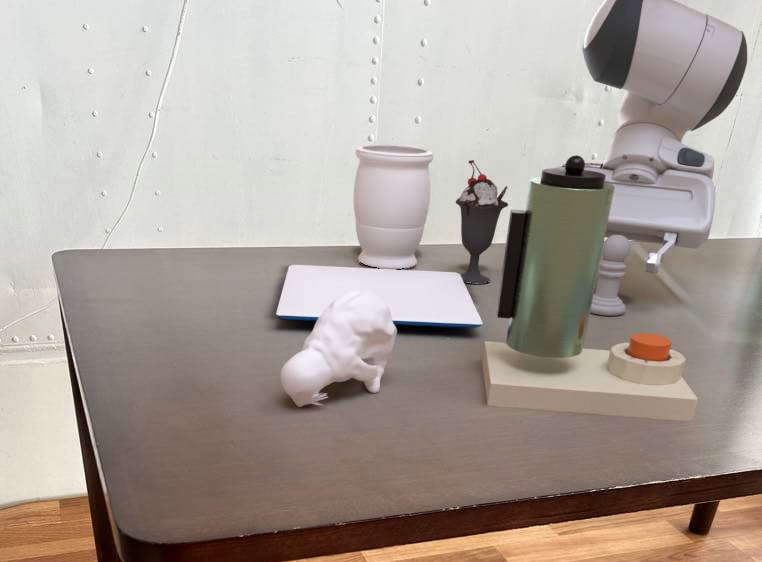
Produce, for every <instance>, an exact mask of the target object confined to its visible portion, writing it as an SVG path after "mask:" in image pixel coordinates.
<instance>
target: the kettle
mask: <svg viewBox="0 0 762 562" xmlns="http://www.w3.org/2000/svg"><path fill="white" fill-rule="evenodd" d="M585 163H586V162H585V160H584V158H583V157H582V156H580V155H577V154H576V155H572V156H570V157H569V158H567V160H566V162H565V163H564V164H565V168H555V167H550V168H544V169H542V170H541V175H540V176H538V177H532V178H530V179H529V183H528V190H527V198H526V204H525V210H524V209H510V211H509V212H510V213H509V219H508V227H507V233H506V240H505V248H504V256H503V263H502V270H501V277H500V285H499V292H498V299H497V307H496V318H498V319H509V320H508V326H507V334H506V340H505V343H507V345H508V346H509V347H510V348H512V349H513V350H515V351H518V352H520V353H523V354H527V355H531V356H536V357H543V358H569V357H574V356H577V355H579V354H580V353H581V352H582V351H583V349H584V344H585V340H586V335H587V329H588V324H589V320H590V315H591V313H590V310H591V305H592V300H593V295H594V294H595V291H596V286H597V281H598V276H599V275H598V270H599V265H600V261H601V259H602V249H603V244H604V241H605V240H606V239H605V238H606V237H605V234H606V229H607V224H608V219H609V214H610V209H611V204H612V199H613V194H614V189H615V187H614V186H613V185H611V184H609V183H605V177H606V175H605V174H602V173H599V172H594V171H588V170H584V168H585Z"/></svg>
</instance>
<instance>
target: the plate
mask: <svg viewBox="0 0 762 562" xmlns="http://www.w3.org/2000/svg"><path fill="white" fill-rule="evenodd" d="M285 275H286V276H285V278H284V279H285V280H284V284H283V286H282V291H281V294H280V298H279V301H278V305H277V309H276V313H275V315H276V316H277V317H278V318H279V319H284V320H296V321H297V320H298V321H309V322H310V321H311V322H317V320H318V318H319V317H320V316H321V315H322V313H323V311H324V310H325V309H326V308H327V307H328V306H329V305H330V304H331V303H332V302H333V301H334V300H335V299H336V298H337V297H339V296H340V295H342V294H344V293H346V292H348V291H351V290H368V291H370V292H372V293H373V294H375V295H376V296H377V297H379V298H380V299H382V300H384V301H385V302H386V304H387V305H388V307H389V309H390V312H391V315H392V321H393V324H394V325H395V326H411V327H412V326H413V327H415V326H416V327H437V328H438V327H439V328H479V327H482V325H483V324H484V323H483V320H482V318H481V316H480V314H479V312H478V310H477V308H476V305H475V304H474V301H473V299H472V297H471V295H470V292H469V290H468V289H467V286H466V283H464V282H463V280H462V278H461V275H460V273H459V272H454V271H435V270H417V269H401V270H395V269H378V268H372V267H351V266H329V265H327V266H326V265H310V264H309V265H308V264H292V265H289V266H288V268H287V272H286V274H285Z"/></svg>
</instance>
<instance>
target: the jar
mask: <svg viewBox="0 0 762 562" xmlns="http://www.w3.org/2000/svg"><path fill="white" fill-rule="evenodd" d="M434 153H435V152H433V151H430V150H427V149H424V148H423V149H422V148H417V147H411V146H401V145H383V144H382V145H379V144H378V145H376V144H375V145H363V146H358V147H356V150H355V157H357V159H359V163H358V166H357V169H356V173H355V178H354V184H353V185H354V186H353V213H354V219H355V230H356V231H355V232H356V237H357V240H358V244H359V246H360V248H361V252H360V254H359V256H358V258H357V261H358V260H359V261H358V263H360V262H361V263H363V264H365V265H368V266H372V267H377V268H376V269H378V268H387V269H401V270H403V269H402V268H408V269H410V268H409V267H412V268H414V267H416V266H417V265H418V260H417V258H416V256H415V252H416V251H417V250H418V247H419V245H420V244H421V240H422V238H423V235H424V230H425V225H426V221H427V217H428V214H429V209H430V204H431V203H430V201H431V174H430V169H429V165H430V163H432V162H433V160H434ZM361 263H360V264H361ZM363 264H362V265H363ZM365 265H364V266H365ZM415 265H416V266H415ZM368 266H367V267H368ZM413 266H414V267H413ZM372 267H371V268H372Z"/></svg>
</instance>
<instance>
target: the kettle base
mask: <svg viewBox="0 0 762 562" xmlns="http://www.w3.org/2000/svg"><path fill="white" fill-rule="evenodd" d="M483 343H484V344H483V352H482V358H481V359H482V360H481V364H482V372H483V373H482V374H483V381H484V389H485V396H486V404H487V407H497V408H498V407H499V408H508V409H521V410H522V409H524V410H536V411H548V412H559V413H560V412H563V413H574V414H586V415H598V416H599V415H600V416H610V417H611V416H612V417H623V418H637V419H649V420H662V421H674V422H675V421H677V422H687V423H688V422H689V423H692V422H693V419H694V416H695V412H696V408H697V405H698V402H699V398H698V397H697V396H696V394H695V393H694V391H693V390H692V388H691V387H690V385H688V383H687V381H686V380H685V379H684V377H683V373H684V368H685V365H686V361H687V359H686V357H684V355H683V354H682V352H681V353H680V352H679V351H676V350H674V349H671V348H670V351H669V355H668V359H667V361H662V362H657V361H645V360H641V359H637V358H633V357H631V356H629V355H627V352H628V347H629V343H630V342H622V343H617V344H615V345H614V346H612V347H611V348H610V349H609V350H608V349H595V348H583V351H582V352H581V353H580V354H579V355H577V356H574V357H569V358H543V357H536V356H531V355H527V354H523V353H520V352H518V351H515V350H513V349H512V348H510V347H509V346H508V345H507V343H506V342H500V341H487V340H486V341H484V342H483Z"/></svg>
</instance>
